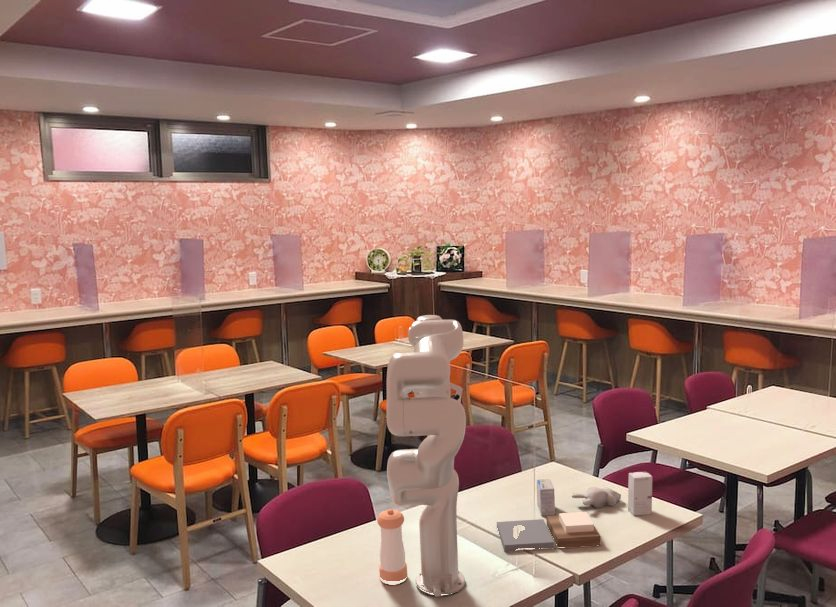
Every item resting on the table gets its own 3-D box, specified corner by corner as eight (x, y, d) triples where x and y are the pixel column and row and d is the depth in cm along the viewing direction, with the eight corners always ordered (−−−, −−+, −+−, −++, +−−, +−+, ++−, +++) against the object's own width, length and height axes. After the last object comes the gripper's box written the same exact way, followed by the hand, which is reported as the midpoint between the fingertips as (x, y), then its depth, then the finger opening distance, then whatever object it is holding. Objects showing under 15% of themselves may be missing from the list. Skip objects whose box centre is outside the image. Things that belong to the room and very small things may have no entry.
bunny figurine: (627, 493, 224) (588, 497, 218) (625, 508, 224) (586, 513, 218) (608, 482, 232) (569, 486, 226) (606, 497, 233) (568, 501, 227)
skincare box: (633, 516, 216) (633, 478, 215) (627, 509, 221) (627, 472, 219) (652, 514, 217) (653, 476, 215) (646, 507, 222) (646, 470, 220)
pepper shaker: (392, 568, 193) (389, 501, 190) (413, 576, 188) (410, 507, 185) (374, 579, 187) (370, 511, 184) (395, 588, 182) (391, 518, 179)
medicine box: (555, 515, 219) (554, 489, 218) (540, 516, 219) (540, 489, 218) (551, 504, 227) (550, 478, 225) (536, 505, 227) (536, 479, 226)
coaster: (593, 531, 202) (593, 524, 202) (565, 532, 202) (565, 526, 201) (585, 518, 210) (585, 511, 210) (559, 519, 210) (558, 513, 209)
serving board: (600, 545, 200) (600, 535, 199) (557, 548, 199) (557, 538, 199) (586, 522, 213) (586, 513, 213) (546, 525, 213) (546, 515, 212)
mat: (554, 548, 199) (554, 542, 199) (504, 551, 199) (504, 545, 198) (543, 525, 213) (543, 519, 213) (496, 528, 212) (496, 522, 212)
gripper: (400, 364, 195) (403, 424, 198) (463, 361, 196) (465, 420, 199) (399, 358, 202) (402, 416, 205) (459, 354, 203) (461, 412, 206)
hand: (433, 418), depth 202 cm, fingers open, 9 cm apart
